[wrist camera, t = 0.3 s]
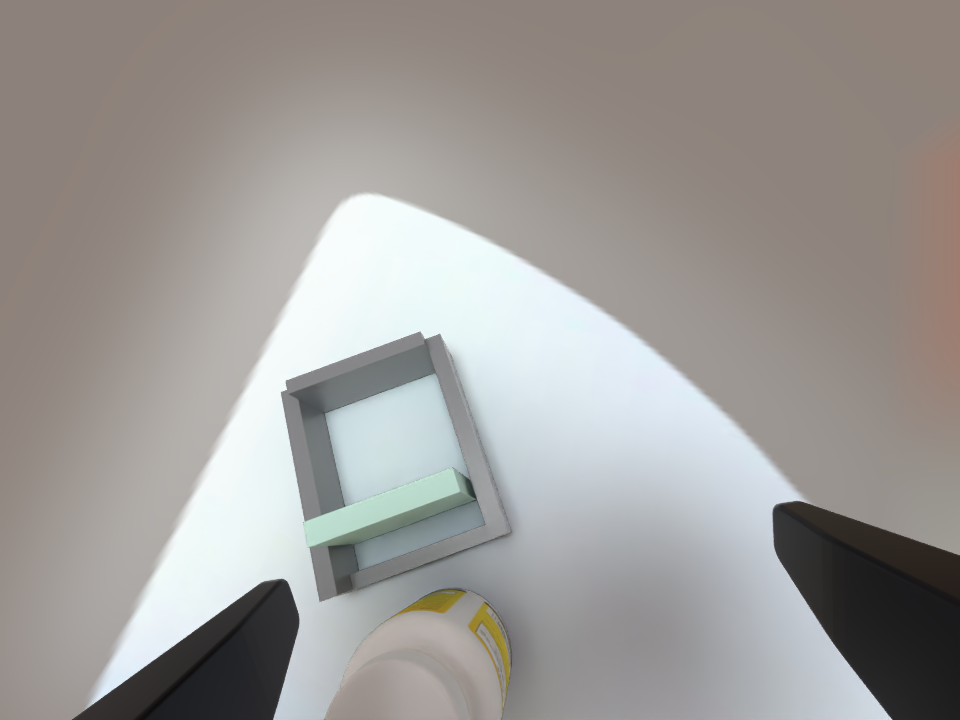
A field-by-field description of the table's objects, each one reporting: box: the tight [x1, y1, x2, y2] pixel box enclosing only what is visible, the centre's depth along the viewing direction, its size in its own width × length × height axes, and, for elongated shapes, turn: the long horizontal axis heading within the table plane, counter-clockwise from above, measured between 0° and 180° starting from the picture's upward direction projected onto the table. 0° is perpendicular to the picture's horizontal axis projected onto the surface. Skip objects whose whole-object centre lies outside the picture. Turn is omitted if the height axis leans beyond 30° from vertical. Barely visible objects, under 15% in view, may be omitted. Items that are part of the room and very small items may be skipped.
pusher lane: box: [281, 332, 512, 602], centre depth 23 cm, size 10×9×4 cm
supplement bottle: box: [324, 588, 512, 720], centre depth 17 cm, size 5×5×10 cm
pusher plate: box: [303, 467, 477, 548], centre depth 21 cm, size 1×6×5 cm, turn 109°
